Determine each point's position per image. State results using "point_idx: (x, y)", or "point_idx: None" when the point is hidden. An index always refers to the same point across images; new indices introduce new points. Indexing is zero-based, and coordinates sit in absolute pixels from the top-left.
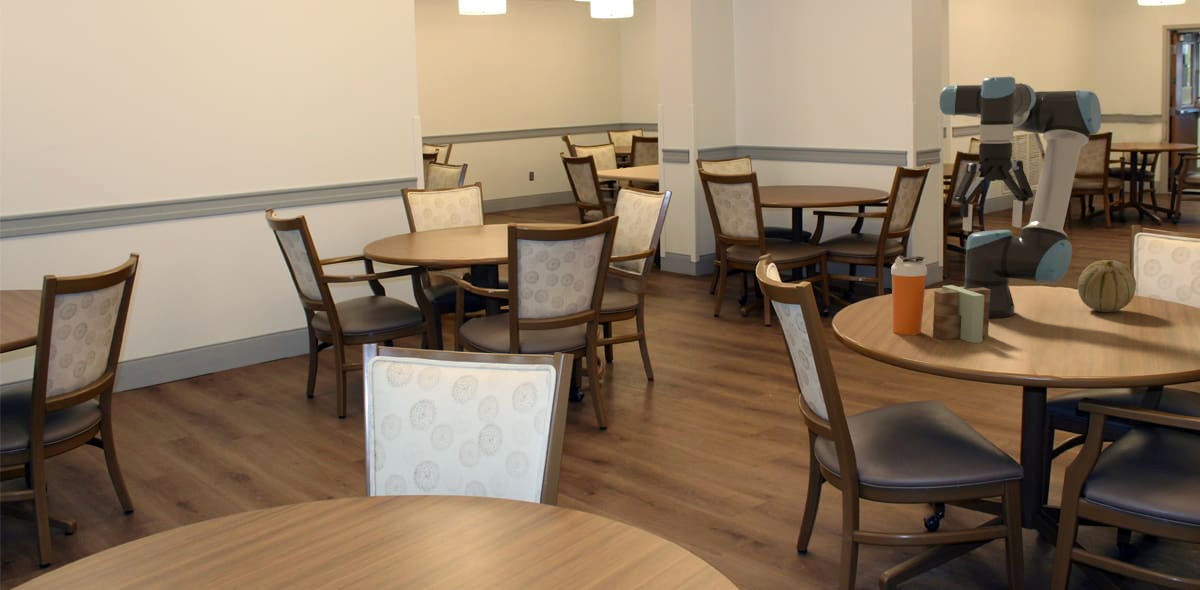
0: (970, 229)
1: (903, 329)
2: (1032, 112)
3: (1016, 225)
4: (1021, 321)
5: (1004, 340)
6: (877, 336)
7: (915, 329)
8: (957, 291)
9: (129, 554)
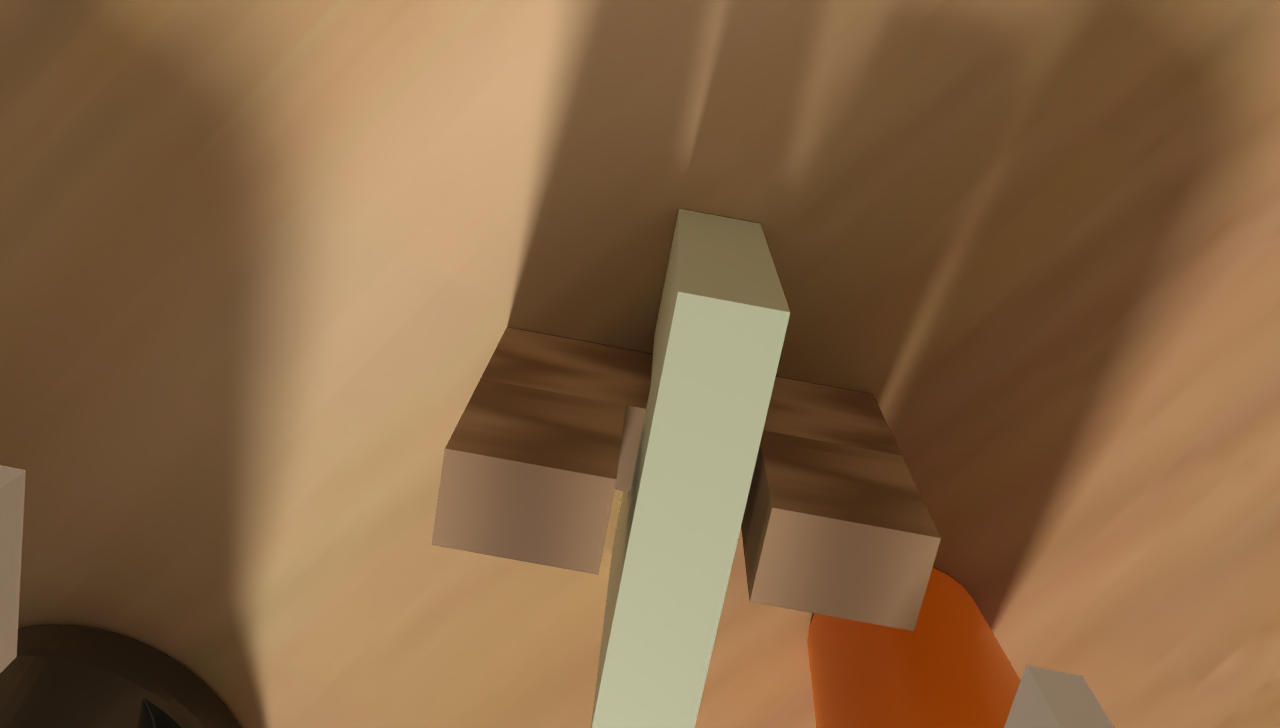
0: (1055, 689)
1: (980, 612)
2: None
3: (4, 549)
4: (36, 500)
5: (509, 169)
6: (1134, 640)
7: None
8: (734, 547)
9: None
